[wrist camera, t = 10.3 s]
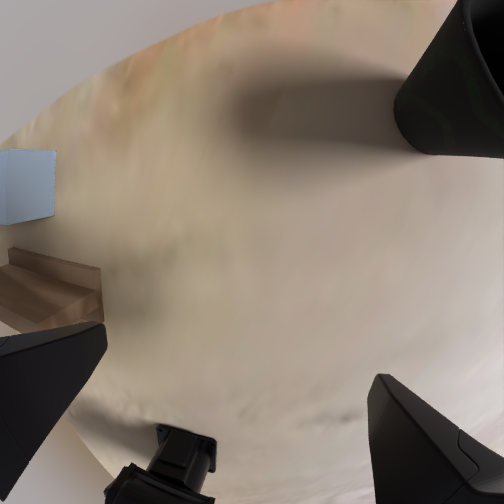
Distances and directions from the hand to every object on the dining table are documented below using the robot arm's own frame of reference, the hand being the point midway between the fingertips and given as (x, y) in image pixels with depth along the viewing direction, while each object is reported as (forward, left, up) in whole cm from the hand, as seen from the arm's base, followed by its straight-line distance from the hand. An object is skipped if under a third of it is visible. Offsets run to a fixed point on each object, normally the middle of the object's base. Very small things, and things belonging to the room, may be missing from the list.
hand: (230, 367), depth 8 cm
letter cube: (+4, +23, -12) cm, 26 cm away
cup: (+12, -10, -12) cm, 20 cm away
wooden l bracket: (-5, +21, -12) cm, 25 cm away
